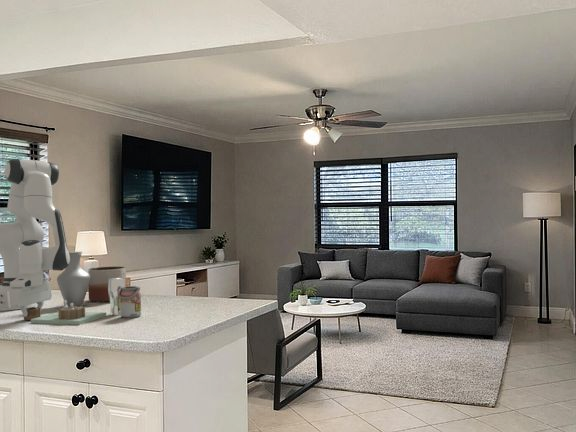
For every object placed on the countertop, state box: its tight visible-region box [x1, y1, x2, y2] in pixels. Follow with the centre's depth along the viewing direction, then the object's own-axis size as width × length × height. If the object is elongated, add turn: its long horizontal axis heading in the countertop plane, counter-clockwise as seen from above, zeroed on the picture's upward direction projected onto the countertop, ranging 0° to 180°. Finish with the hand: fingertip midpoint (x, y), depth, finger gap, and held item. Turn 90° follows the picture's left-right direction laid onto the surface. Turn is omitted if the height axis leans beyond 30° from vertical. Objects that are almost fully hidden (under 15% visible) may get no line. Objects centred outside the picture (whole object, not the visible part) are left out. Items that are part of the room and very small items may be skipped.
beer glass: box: [108, 278, 125, 316], centre depth 238 cm, size 7×7×15 cm
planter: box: [87, 265, 127, 303], centre depth 279 cm, size 18×18×16 cm
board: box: [30, 300, 107, 326], centre depth 228 cm, size 22×18×7 cm
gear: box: [23, 306, 41, 321], centre depth 230 cm, size 6×6×4 cm
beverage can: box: [118, 285, 142, 319], centre depth 231 cm, size 9×8×12 cm
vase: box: [56, 251, 90, 307], centre depth 263 cm, size 14×14×25 cm
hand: (32, 314), depth 230 cm, fingers closed on gear, 6 cm apart
